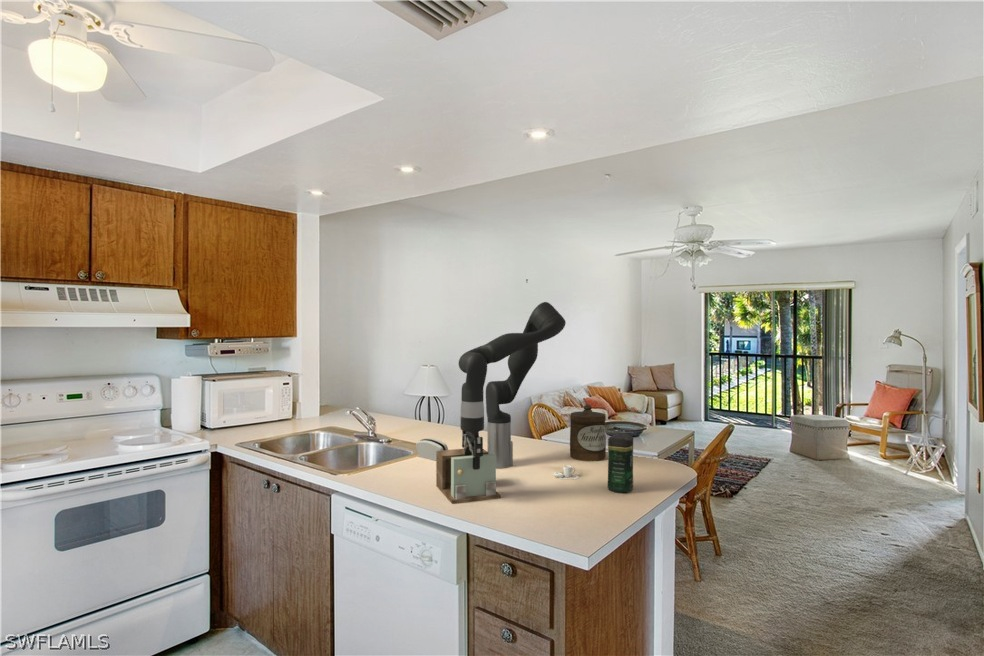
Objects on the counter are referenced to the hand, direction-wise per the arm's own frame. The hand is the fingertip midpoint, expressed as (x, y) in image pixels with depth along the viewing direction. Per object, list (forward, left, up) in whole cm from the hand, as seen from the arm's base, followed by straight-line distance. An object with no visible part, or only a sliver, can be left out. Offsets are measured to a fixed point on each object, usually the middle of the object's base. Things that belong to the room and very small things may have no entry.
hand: (471, 465), depth 166 cm
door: (0, 0, -9) cm, 9 cm away
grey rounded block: (-1, -52, -10) cm, 53 cm away
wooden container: (-62, -34, -10) cm, 72 cm away
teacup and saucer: (-39, -13, -11) cm, 43 cm away
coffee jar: (-49, +9, -10) cm, 51 cm away
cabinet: (0, -6, -10) cm, 12 cm away
